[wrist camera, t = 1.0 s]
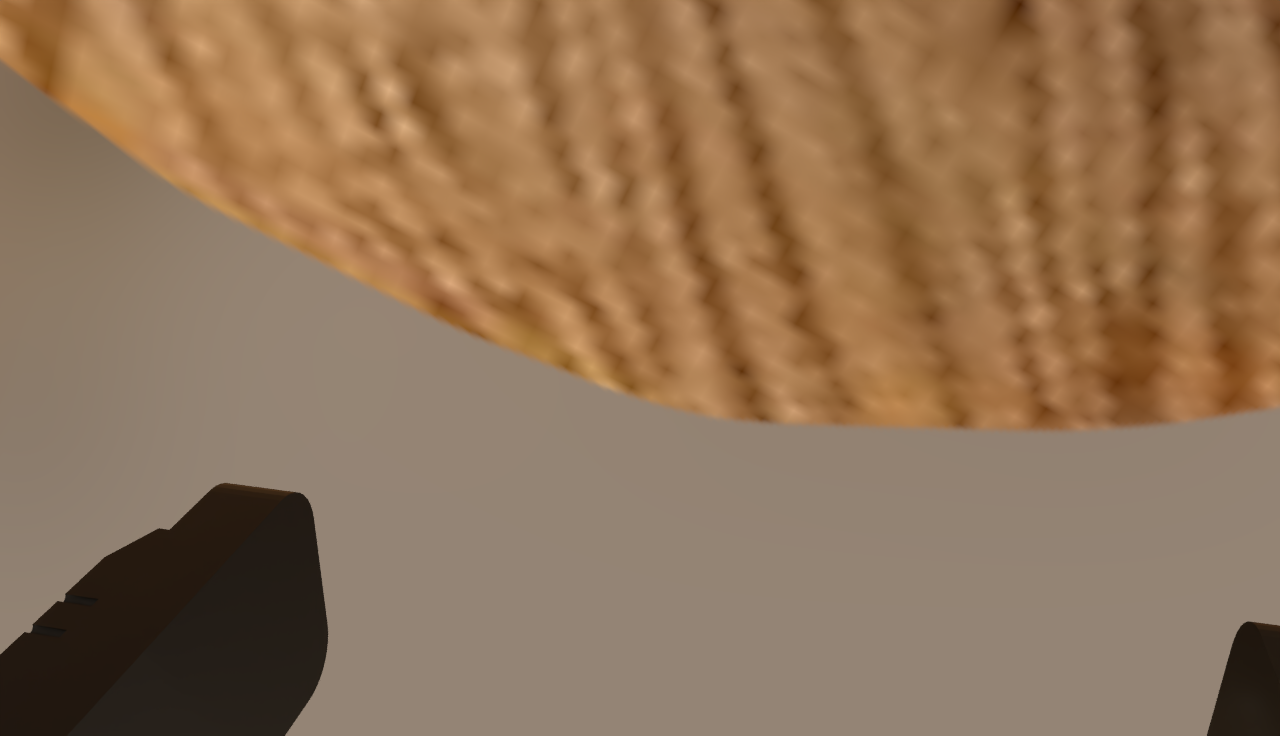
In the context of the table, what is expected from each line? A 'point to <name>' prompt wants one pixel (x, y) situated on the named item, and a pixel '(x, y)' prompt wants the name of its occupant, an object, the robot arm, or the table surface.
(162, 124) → the table surface
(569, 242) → the table surface
